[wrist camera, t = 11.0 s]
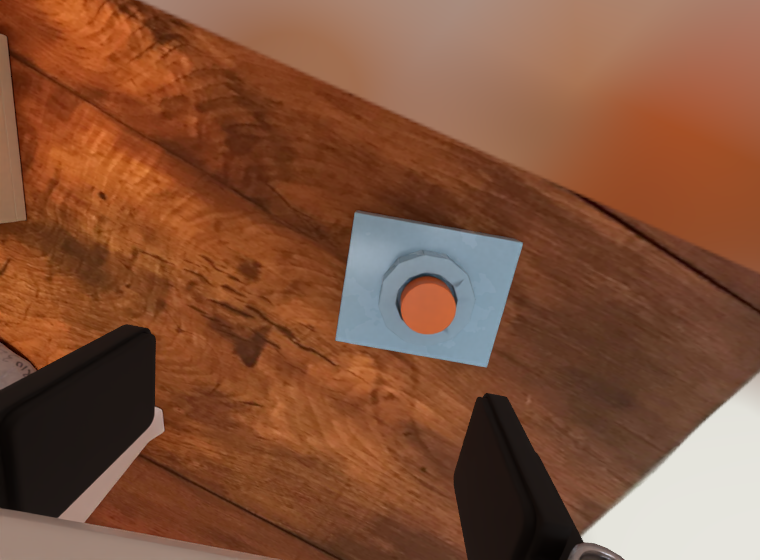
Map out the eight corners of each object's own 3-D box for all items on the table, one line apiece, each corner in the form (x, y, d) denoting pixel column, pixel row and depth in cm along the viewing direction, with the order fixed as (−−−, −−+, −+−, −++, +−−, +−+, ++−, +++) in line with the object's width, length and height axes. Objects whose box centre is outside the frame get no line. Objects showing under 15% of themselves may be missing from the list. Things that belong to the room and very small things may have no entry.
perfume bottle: (154, 449, 33) (-28, 657, 19) (113, 422, 33) (-109, 616, 18) (180, 418, 32) (6, 613, 18) (138, 389, 31) (-78, 569, 17)
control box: (357, 210, 26) (351, 214, 23) (515, 238, 27) (533, 247, 23) (338, 331, 29) (331, 351, 26) (481, 357, 29) (493, 380, 26)
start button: (405, 271, 24) (406, 278, 23) (457, 280, 24) (462, 288, 23) (396, 319, 25) (396, 329, 24) (445, 328, 25) (449, 339, 24)
